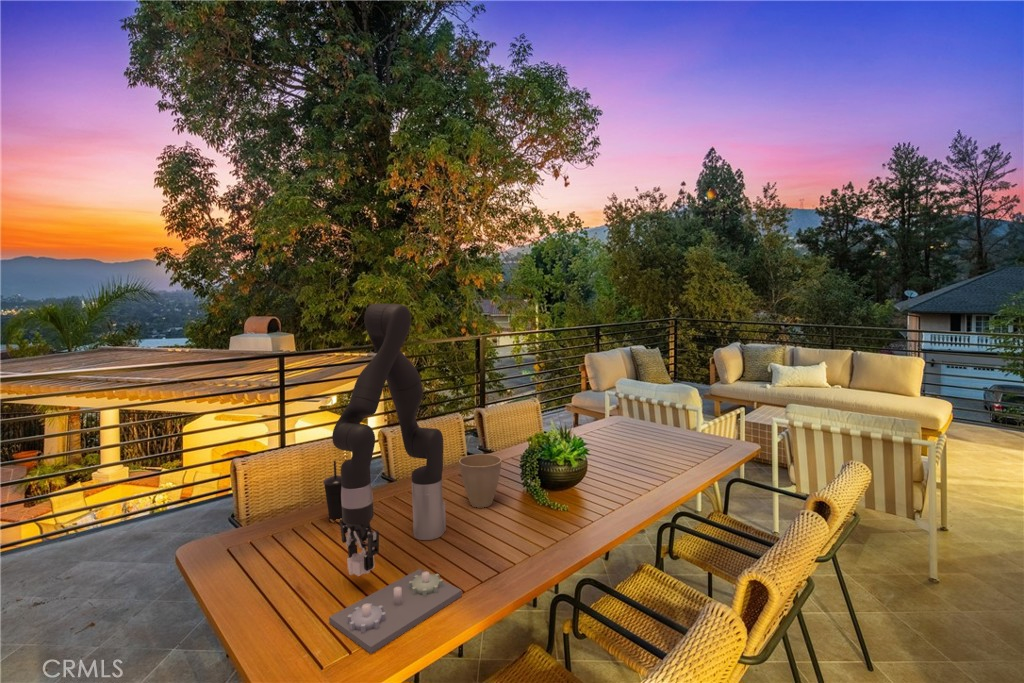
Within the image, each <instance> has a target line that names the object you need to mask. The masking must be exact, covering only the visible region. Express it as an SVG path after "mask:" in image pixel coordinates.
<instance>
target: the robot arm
mask: <svg viewBox="0 0 1024 683" xmlns="http://www.w3.org/2000/svg"><path fill="white" fill-rule="evenodd" d="M411 323H412V315H411V312H410V310H409V308H408V307H407V306H406V305H404V304H400V303H379V302H378V303H372V304H370V305H368V306H367V308H366V310H365V313H364V326H365V329H366V333H367V335H368V337H369V339H370V341H371V344H372V346H373V348H374V350H375V352H376V354H375V355H374V357H373V358H372V359H371V360H370V361H369V363H368V364H366V366H365V367H364V368H363V369H362V371H361V372H359V373H360V374H359V375H358V376H357V379H356V381H355V384H354V386H353V389H352V393H351V396H350V399H349V402H348V404H347V406H346V407H345V408H344V410H343V412H342V414H341V415H340V417H339V419H338V420H337V421H336V423H335V425H334V427H333V431H332V435H331V436H332V437H331V438H332V439H331V440H332V443H333V446H334V447H335V448H336V449H338V450H341V451H344V452H351V453H352V454H351V458H349V459H347V460H345V461H343V463H342V464H341V466H340V476H341V485H342V489H341V502H342V520H340V522H339V525H340V534H341V535H340V536H341V542H342V543H343V544H344V543H345V546H346V548H347V556H348V557H347V558H351V557H352V554H354V553H356V554H357V553H358V548H359V549H361V552H362V551H363V554H364V569H365V570H366V571H368V570H370V569H371V570H373V569H372V568H373V566H374V565H375V560H374V561H373V556H375V555H377V554H379V553H380V533H379V531H378V530H372V526H371V522H372V520H373V518H374V515H375V514H374V512H375V511H374V499H373V498H374V497H373V496H374V495H373V487H372V482H371V481H372V479H371V464H372V459H373V454H374V450H375V444H376V434H375V431H374V430H373V428H372V427H371V426H370V425H368V424H365V423H362V421H363V420H364V418H366V417H370V416H373V415H375V414H376V413H377V410H378V407H379V404H380V401H381V397H382V394H383V391H384V387H385V384H386V385H387V387H388V390H389V394H390V397H391V399H392V403H393V404H394V409H395V412H396V415H397V418H398V424H399V426H400V427H399V428H400V431H401V432H400V433H401V436H402V442H403V446H404V450H405V452H406V454H407V455H408V456H409V457H411V458H415V459H424V460H426V461H425V462H426V464H425V465H422V466H420V467H417V468H415V469H414V470H412V472H411V494H412V495H411V496H412V497H411V498H412V500H411V502H412V527H413V532H412V533H413V537H414V538H415V539H417V540H420V541H432V540H436V539H438V538H441V537H442V536H443V535H444V532H446V531H447V519H446V518H447V517H446V516H447V514H446V501H445V500H443V499H444V498H443V494H444V493H443V469H444V436H443V432H442V431H441V430H440V429H438V428H433V427H432V428H431V427H430V428H429V427H420V426H419V424H418V422H417V417H416V414H417V412H418V409H419V407H420V405H421V403H422V400H423V396H424V387H423V384H422V380H421V376H420V374H419V372H418V370H417V368H416V367H415V365H414V364H413V363H412V361H411V360H409V358H408V357H407V356H406V354H404V353H403V351H401V349H402V347H403V344H404V343H405V340H406V338H407V336H408V334H409V331H410V327H411ZM365 541H367V542H365ZM363 542H365V543H363ZM357 544H358V545H357ZM371 570H370V571H371Z"/></svg>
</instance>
